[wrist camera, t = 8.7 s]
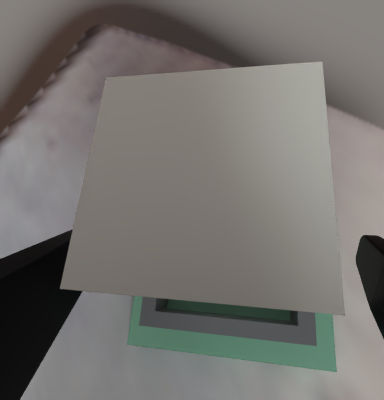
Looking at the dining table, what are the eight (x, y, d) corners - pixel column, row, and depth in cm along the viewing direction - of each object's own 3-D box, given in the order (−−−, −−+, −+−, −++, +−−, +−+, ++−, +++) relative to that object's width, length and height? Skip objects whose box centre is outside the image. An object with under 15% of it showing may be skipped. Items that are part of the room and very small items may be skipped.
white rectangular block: (268, 297, 16) (345, 315, 4) (189, 290, 17) (59, 288, 5) (267, 218, 18) (321, 58, 6) (195, 215, 19) (106, 73, 6)
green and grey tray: (330, 367, 15) (354, 387, 12) (133, 341, 18) (108, 353, 14) (317, 173, 19) (332, 149, 16) (155, 173, 21) (139, 152, 18)
